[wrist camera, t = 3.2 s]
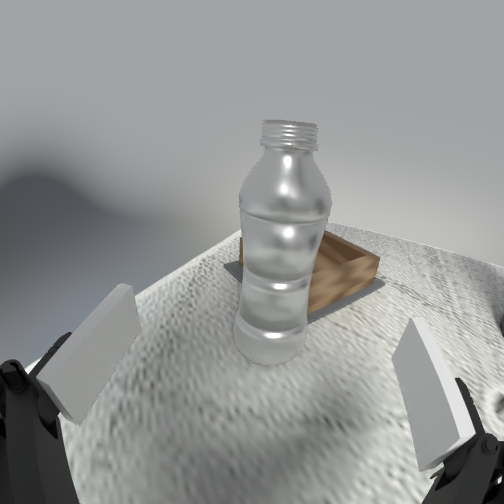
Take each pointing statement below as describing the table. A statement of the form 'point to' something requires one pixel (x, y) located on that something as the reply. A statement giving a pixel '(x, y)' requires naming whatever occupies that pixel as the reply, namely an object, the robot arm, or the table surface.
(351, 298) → the mat
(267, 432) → the table surface
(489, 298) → the table surface
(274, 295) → the plastic bottle
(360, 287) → the wooden tray
